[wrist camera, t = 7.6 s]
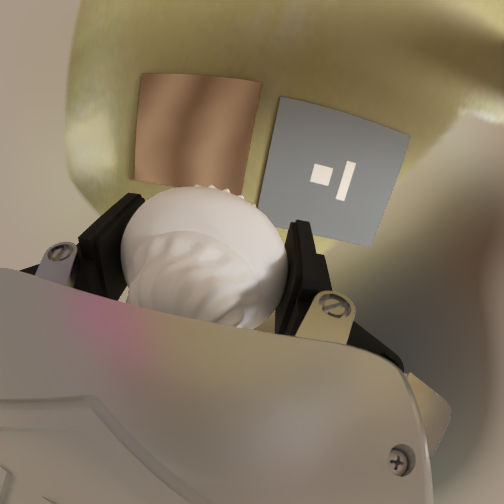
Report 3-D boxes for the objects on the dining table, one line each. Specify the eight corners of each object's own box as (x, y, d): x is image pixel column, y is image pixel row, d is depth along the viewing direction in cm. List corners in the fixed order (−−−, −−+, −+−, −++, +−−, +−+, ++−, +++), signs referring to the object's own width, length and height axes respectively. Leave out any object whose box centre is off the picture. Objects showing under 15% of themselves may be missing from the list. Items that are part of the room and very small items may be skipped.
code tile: (409, 135, 24) (410, 136, 23) (369, 246, 31) (369, 247, 31) (280, 96, 23) (280, 96, 23) (254, 221, 31) (254, 222, 31)
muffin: (134, 190, 12) (38, 284, 6) (256, 137, 10) (227, 206, 4) (193, 290, 15) (153, 403, 9) (302, 260, 13) (314, 392, 7)
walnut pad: (262, 82, 23) (261, 82, 22) (241, 193, 29) (240, 197, 28) (146, 73, 22) (141, 73, 21) (139, 177, 29) (134, 180, 28)
